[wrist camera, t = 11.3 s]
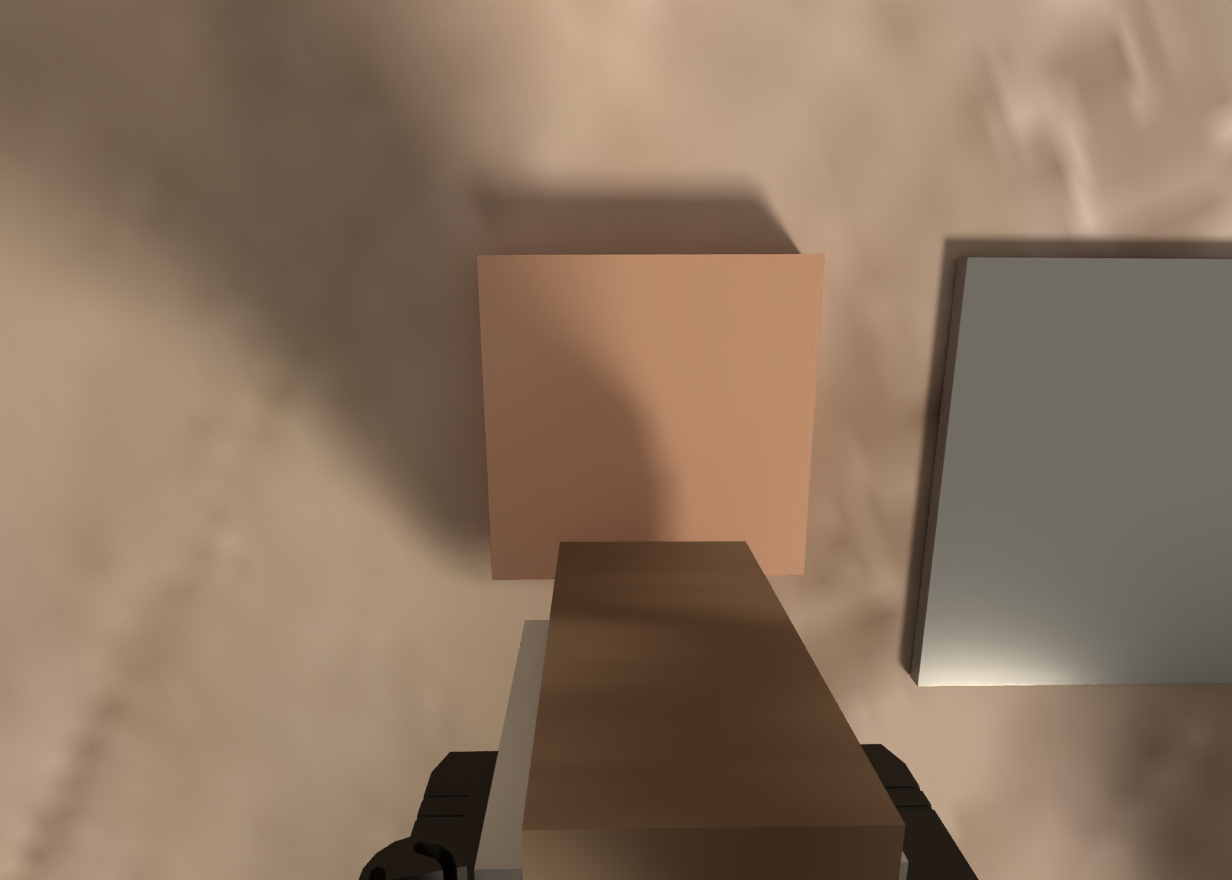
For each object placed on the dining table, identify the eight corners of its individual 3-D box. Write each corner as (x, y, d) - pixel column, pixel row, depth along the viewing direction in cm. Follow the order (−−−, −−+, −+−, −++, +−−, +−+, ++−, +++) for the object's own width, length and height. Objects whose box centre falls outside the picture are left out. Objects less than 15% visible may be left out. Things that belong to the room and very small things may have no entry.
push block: (562, 782, 16) (532, 1244, 9) (559, 541, 15) (521, 831, 7) (732, 781, 16) (855, 1233, 9) (745, 541, 15) (905, 825, 7)
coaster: (910, 676, 21) (917, 686, 20) (957, 257, 18) (968, 257, 18) (1304, 672, 21) (1322, 682, 21) (1411, 260, 18) (1433, 260, 18)
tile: (492, 579, 18) (476, 254, 16) (502, 547, 20) (490, 256, 18) (803, 574, 18) (824, 253, 16) (782, 543, 20) (798, 256, 18)
